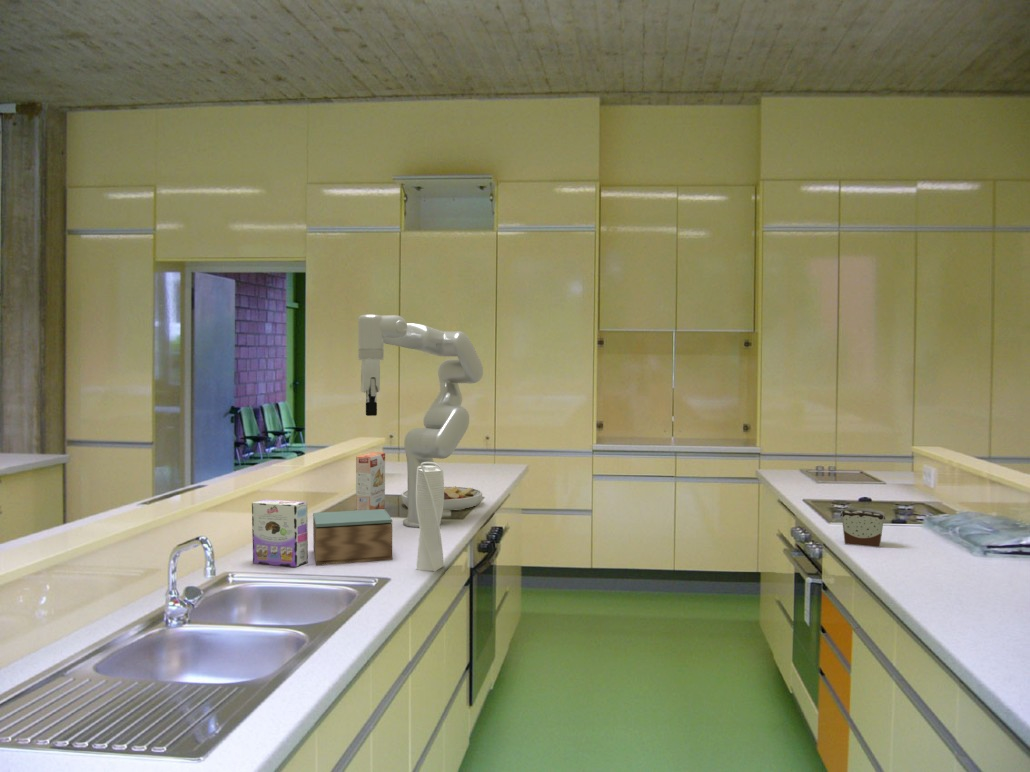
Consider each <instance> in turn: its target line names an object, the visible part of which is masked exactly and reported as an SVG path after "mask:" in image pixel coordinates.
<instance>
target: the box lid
mask: <svg viewBox="0 0 1030 772" xmlns="http://www.w3.org/2000/svg"><path fill="white" fill-rule="evenodd" d="M312 514H313V515H312V518H313V517H314V521H315V526H316V527H329V526H345V525H362V524H379V523H392V524H393V519H392V518H391V516H390V514H389V513H388V512H387V510H386V508H385V509H376V510H358V511H356V510H344V511H343V510H342V511H326V512H325V511H322V512H313V513H312Z"/></svg>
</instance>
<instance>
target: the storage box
mask: <svg viewBox="0 0 1030 772" xmlns="http://www.w3.org/2000/svg"><path fill="white" fill-rule="evenodd" d="M312 520H313V521H312V522H313V523H312V524H313V525H312V526H313V527H312V529H313V534H312V535H313V537H312V539H313V543H312V544H313V545H312V546H313V554H314V560H315V565H316V566H320V565H332V564H333V565H334V564H346V563H348V564H349V563H361V562H373V561H387V560H388V561H389V560H393V522H392V523H379V524H362V525H345V526H329V527H316V526H315V521H314V517H313V516H312Z"/></svg>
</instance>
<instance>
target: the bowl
mask: <svg viewBox="0 0 1030 772" xmlns="http://www.w3.org/2000/svg"><path fill="white" fill-rule="evenodd" d="M482 499H483V492H482V491H481V490H479V489H476V488H473V487H465V486H461V487H460V486H444V504H443V510H454V509H463V508H469V507H473V506H475V507H476V506H478V505H479V504H480V502H481V501H482ZM401 501H402V503H403V504H404V505H405V507H407V508H408V489H407V490H405V491H402V493H401ZM473 508H474V507H473Z"/></svg>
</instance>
